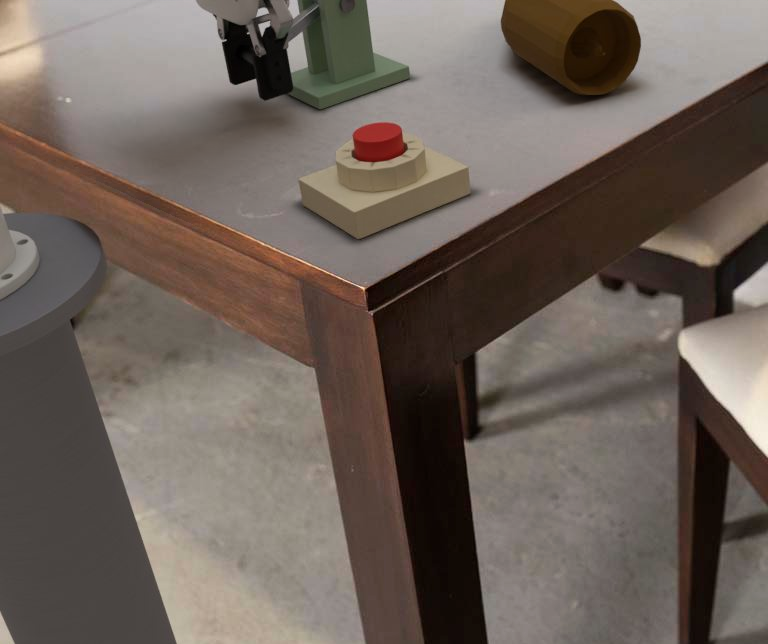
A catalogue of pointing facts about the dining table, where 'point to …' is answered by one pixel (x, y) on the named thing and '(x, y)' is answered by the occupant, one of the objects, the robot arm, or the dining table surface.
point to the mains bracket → (341, 56)
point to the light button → (378, 142)
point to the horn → (574, 41)
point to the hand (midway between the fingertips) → (261, 85)
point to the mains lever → (298, 26)
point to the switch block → (383, 187)
